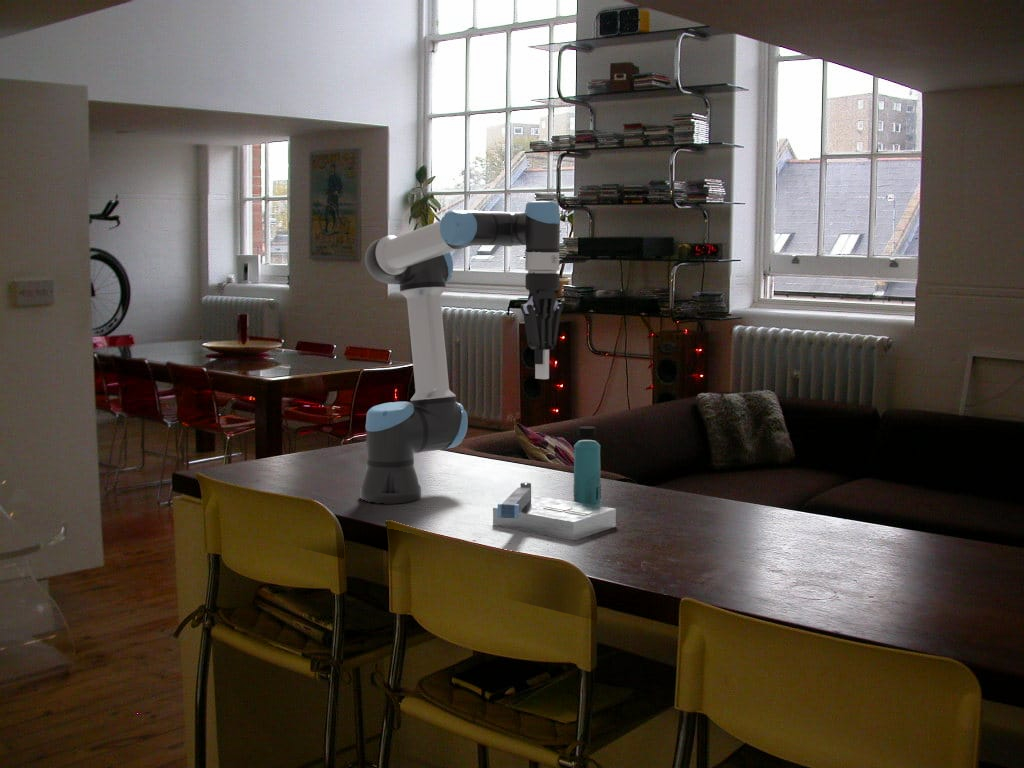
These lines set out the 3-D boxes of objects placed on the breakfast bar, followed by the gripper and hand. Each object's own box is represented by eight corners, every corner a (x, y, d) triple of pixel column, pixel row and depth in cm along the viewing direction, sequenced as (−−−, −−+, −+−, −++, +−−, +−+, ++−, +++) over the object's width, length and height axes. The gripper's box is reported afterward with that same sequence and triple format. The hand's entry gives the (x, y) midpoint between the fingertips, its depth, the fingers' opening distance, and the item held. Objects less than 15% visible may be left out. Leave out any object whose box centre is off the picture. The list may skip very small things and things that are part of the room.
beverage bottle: (599, 514, 255) (599, 429, 253) (570, 512, 256) (571, 428, 254) (602, 508, 261) (603, 425, 259) (574, 506, 263) (575, 424, 260)
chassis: (492, 525, 244) (492, 487, 243) (536, 512, 257) (536, 476, 256) (573, 540, 231) (573, 500, 230) (615, 526, 243) (615, 488, 242)
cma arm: (514, 499, 246) (514, 487, 246) (533, 500, 245) (533, 488, 245) (497, 517, 229) (497, 504, 229) (518, 518, 228) (518, 505, 228)
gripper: (538, 272, 235) (537, 382, 237) (573, 272, 245) (572, 377, 247) (510, 272, 239) (510, 379, 242) (546, 272, 250) (546, 375, 252)
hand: (542, 378), depth 245 cm, fingers closed
